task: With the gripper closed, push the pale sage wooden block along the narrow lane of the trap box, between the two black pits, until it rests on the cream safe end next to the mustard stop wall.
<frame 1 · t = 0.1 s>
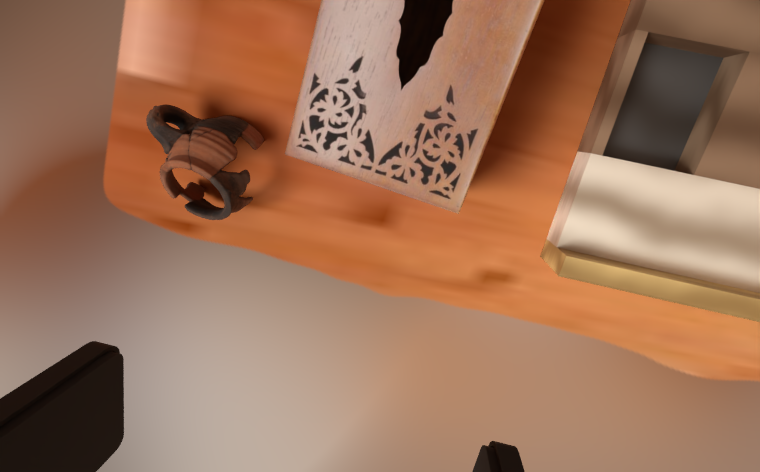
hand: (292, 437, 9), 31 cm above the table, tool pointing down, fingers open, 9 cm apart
tissue box cover: (426, 39, 35), on the table
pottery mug: (223, 155, 40), on the table
trap box: (745, 127, 34), on the table
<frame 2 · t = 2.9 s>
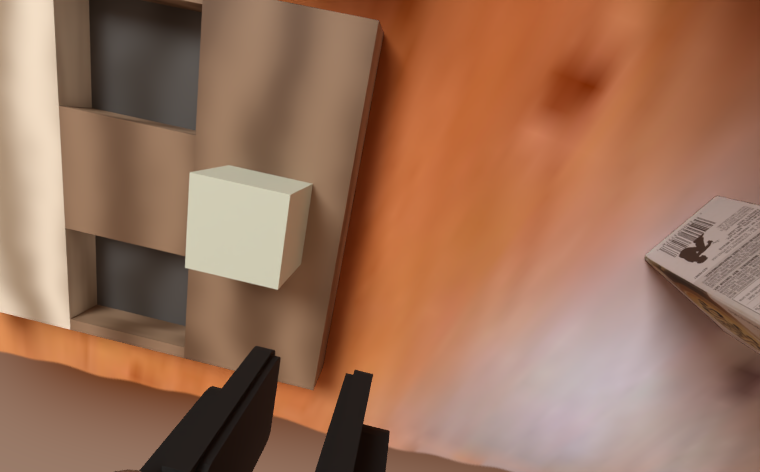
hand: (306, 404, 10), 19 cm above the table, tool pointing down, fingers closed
trap box: (155, 179, 30), on the table
coffee box: (718, 264, 27), on the table
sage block: (265, 216, 26), point 3 cm above the table, touching trap box
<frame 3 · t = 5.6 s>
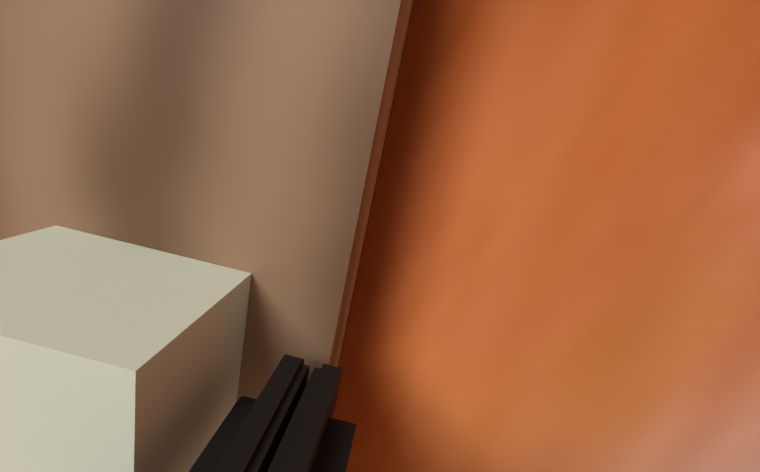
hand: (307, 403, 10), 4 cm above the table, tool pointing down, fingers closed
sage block: (150, 337, 12), point 3 cm above the table, touching gripper
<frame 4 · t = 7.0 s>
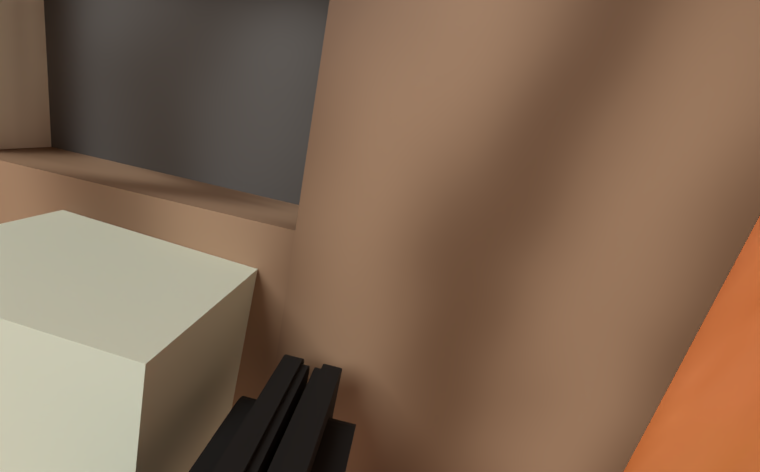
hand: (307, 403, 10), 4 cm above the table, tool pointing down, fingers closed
trap box: (182, 288, 15), on the table
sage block: (150, 326, 12), point 3 cm above the table, touching trap box
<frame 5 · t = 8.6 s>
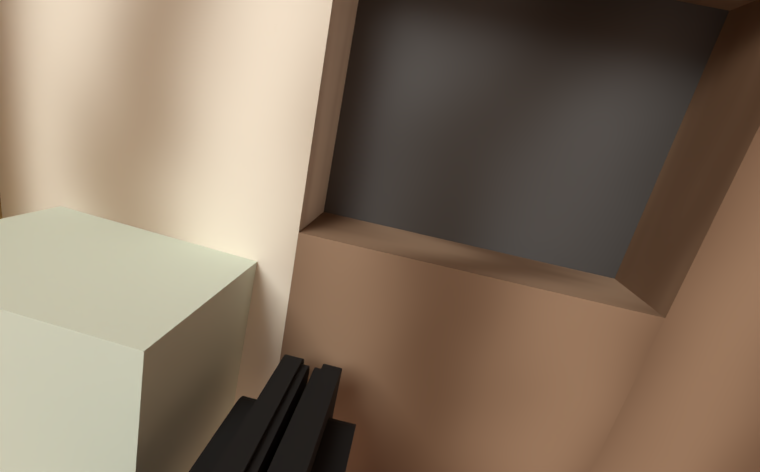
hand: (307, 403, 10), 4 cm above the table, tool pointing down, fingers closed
trap box: (433, 351, 14), on the table
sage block: (151, 322, 12), point 3 cm above the table
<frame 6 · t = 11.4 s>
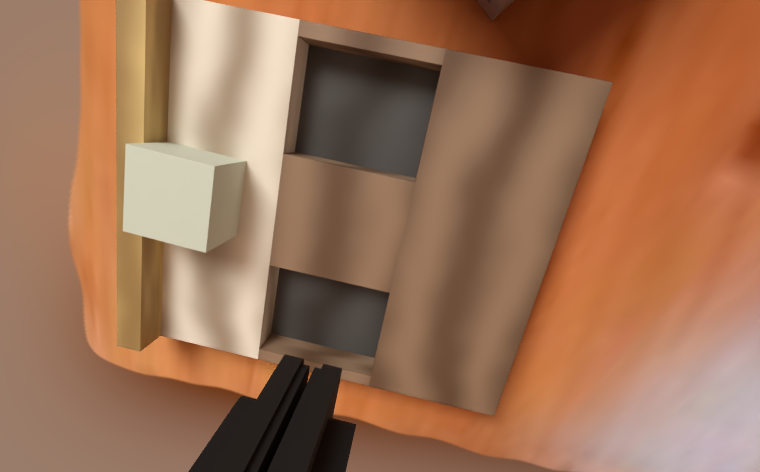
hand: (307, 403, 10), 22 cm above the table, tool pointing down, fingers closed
trap box: (345, 217, 31), on the table
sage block: (204, 189, 29), point 3 cm above the table, touching trap box
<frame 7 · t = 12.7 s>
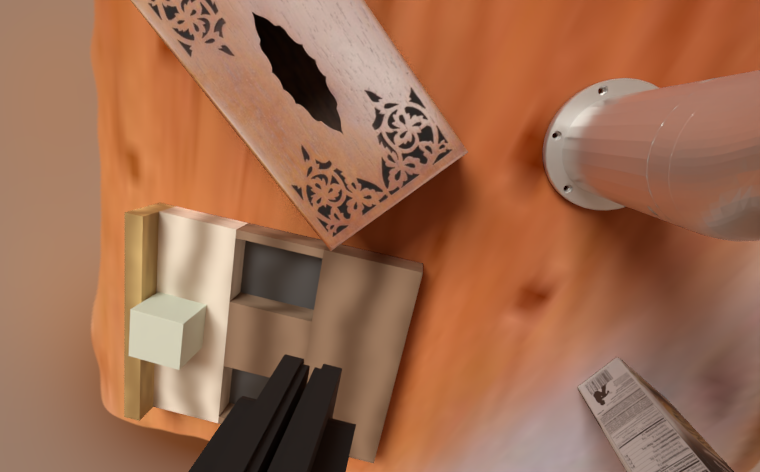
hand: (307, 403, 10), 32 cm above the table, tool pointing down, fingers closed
tissue box cover: (329, 88, 39), on the table
trap box: (275, 331, 47), on the table
coffee box: (621, 392, 45), on the table
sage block: (180, 320, 45), point 3 cm above the table, touching trap box
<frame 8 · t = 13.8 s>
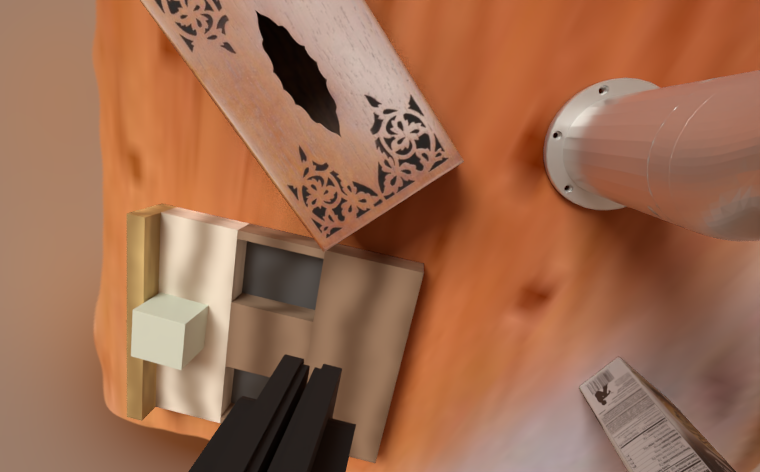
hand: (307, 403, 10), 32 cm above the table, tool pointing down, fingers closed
tissue box cover: (330, 89, 39), on the table
trap box: (277, 331, 48), on the table
coffee box: (622, 392, 45), on the table
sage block: (182, 320, 45), point 3 cm above the table, touching trap box
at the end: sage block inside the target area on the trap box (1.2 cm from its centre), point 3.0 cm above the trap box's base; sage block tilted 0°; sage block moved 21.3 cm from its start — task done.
